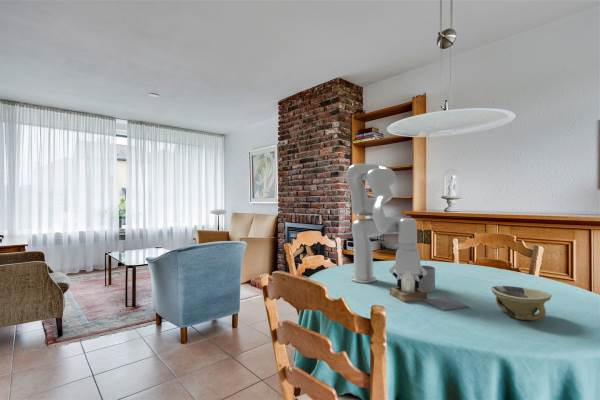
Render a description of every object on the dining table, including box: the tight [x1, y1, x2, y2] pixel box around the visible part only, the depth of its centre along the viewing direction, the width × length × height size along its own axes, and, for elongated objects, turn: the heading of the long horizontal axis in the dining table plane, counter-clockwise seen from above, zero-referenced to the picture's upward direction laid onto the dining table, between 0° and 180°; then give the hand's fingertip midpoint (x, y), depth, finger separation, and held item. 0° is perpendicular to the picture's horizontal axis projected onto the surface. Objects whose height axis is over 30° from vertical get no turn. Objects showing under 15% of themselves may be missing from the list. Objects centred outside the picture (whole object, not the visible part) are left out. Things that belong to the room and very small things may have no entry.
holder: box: [389, 286, 428, 303], centre depth 137 cm, size 11×11×3 cm
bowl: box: [490, 285, 552, 322], centre depth 113 cm, size 18×18×10 cm
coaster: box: [422, 296, 470, 312], centre depth 127 cm, size 12×12×1 cm
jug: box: [400, 271, 416, 294], centre depth 136 cm, size 8×6×12 cm
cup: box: [418, 265, 436, 293], centre depth 148 cm, size 8×8×10 cm
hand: (408, 288), depth 137 cm, fingers closed on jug, 6 cm apart
